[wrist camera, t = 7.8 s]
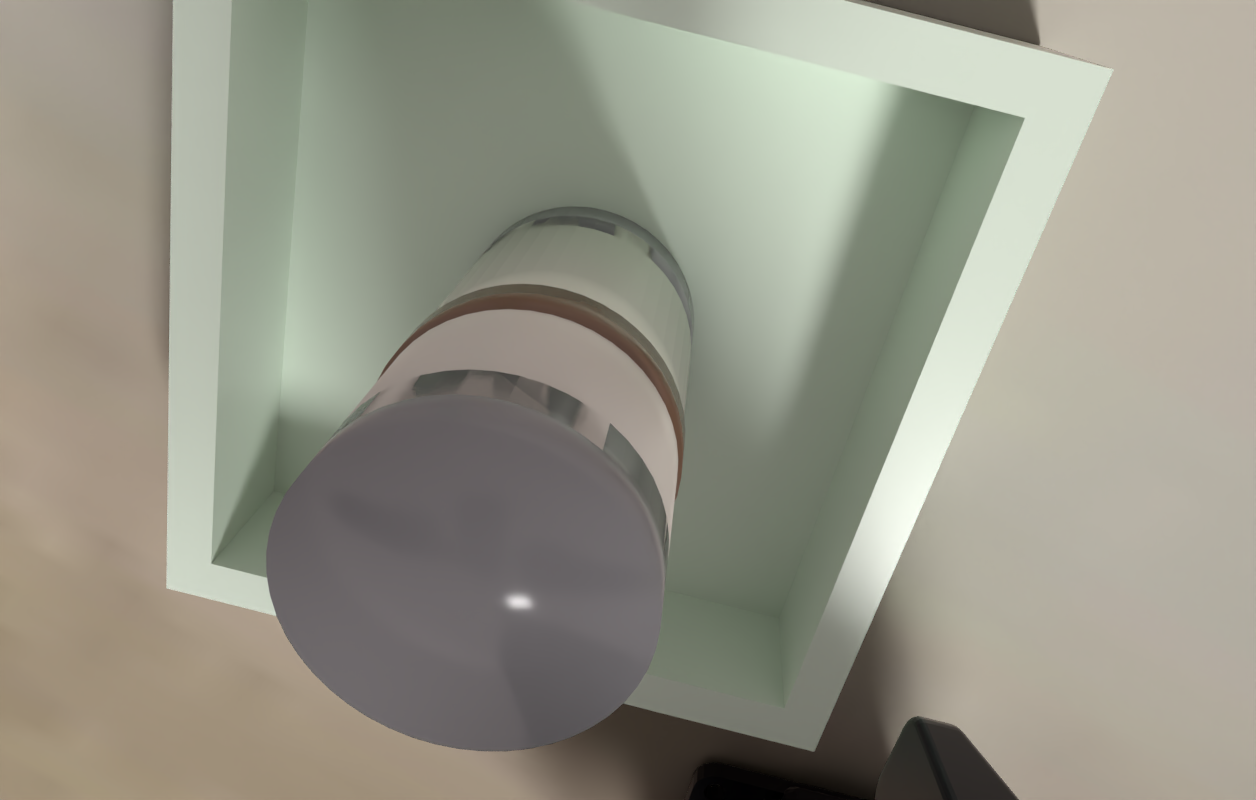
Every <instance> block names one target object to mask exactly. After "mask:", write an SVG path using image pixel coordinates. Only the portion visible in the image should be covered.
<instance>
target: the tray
mask: <svg viewBox="0 0 1256 800" xmlns="http://www.w3.org/2000/svg"><path fill="white" fill-rule="evenodd" d="M1113 70H1114V69H1111V68H1108V67H1105V66H1101V65H1098V64H1095V63H1092V62H1089V61H1086V60H1083V59H1080V58H1077V57H1073V56H1070V55H1067V54H1064V53H1061V52H1058V51H1055V50H1052V49H1049V48H1046V47H1042V46H1039V45H1035V44H1031V43H1027V42H1023V41H1019V40H1015V39H1011V38H1008V37H1004V36H1000V35H996V34H992V33H988V32H984V31H980V30H976V29H972V28H969V27H965V26H961V25H957V24H953V23H949V22H945V21H941V20H937V19H933V18H930V17H926V16H922V15H918V14H914V13H910V12H906V11H902V10H898V9H894V8H891V7H887V6H883V5H879V4H875V3H871V2H867V1H863V0H173V38H172V130H171V223H170V315H169V408H168V500H167V588H168V589H172V590H176V591H179V592H183V593H187V594H191V595H195V596H199V597H203V598H207V599H211V600H215V601H219V602H223V603H227V604H231V605H235V606H239V607H243V608H247V609H251V610H255V611H259V612H263V613H267V614H271V615H274V616H276V613H275V609H274V606H273V603H272V600H271V597H270V593H269V587H268V581H267V574H266V550H267V544H268V537H269V531H270V528H271V525H272V522H273V519H274V516H275V513H276V511H277V509H278V507H279V505H280V503H281V501H282V499H283V497H284V495H285V493H286V492H287V491H288V489H289V488H290V487H291V485H292V484H293V483H294V482H295V480H296V479H297V478H298V476H299V475H300V474H301V473H302V471H303V470H304V469H305V468H306V467H307V465H308V464H309V463H310V462H311V461H312V459H313V458H314V457H315V456H316V455H317V453H318V452H319V451H320V450H321V449H322V447H323V446H324V445H325V444H326V443H327V441H328V440H329V439H330V438H331V436H332V435H333V434H334V433H335V432H336V430H337V429H338V428H339V427H340V426H341V424H342V423H343V422H344V421H345V420H346V418H347V417H348V416H349V415H350V414H351V412H352V411H353V410H354V409H355V408H356V406H357V405H358V404H359V403H360V401H361V400H362V399H363V398H364V397H365V395H366V394H367V393H368V392H369V391H370V389H371V388H372V387H373V386H374V385H375V383H376V382H377V380H378V379H379V377H380V375H381V373H382V371H383V369H384V368H385V366H386V365H387V363H388V362H389V361H390V359H391V358H392V357H393V355H394V354H395V353H396V352H397V350H398V349H399V348H400V347H401V346H402V344H403V343H404V342H405V341H406V340H407V338H408V337H409V336H410V335H411V334H412V333H413V331H414V330H415V329H416V328H417V327H418V326H419V325H420V324H421V323H422V322H423V321H424V320H425V319H426V318H427V317H428V316H429V315H431V314H432V313H433V312H435V311H436V310H437V309H438V307H439V306H440V305H441V304H442V303H443V301H444V300H445V299H446V298H447V297H448V295H449V294H450V293H451V292H452V290H453V289H454V288H455V287H456V286H457V284H458V283H459V282H460V281H461V280H462V278H463V277H464V276H465V275H466V274H467V272H468V271H469V270H470V269H471V268H472V266H473V265H474V264H475V263H476V262H477V260H478V259H479V258H480V257H481V255H482V254H483V253H484V252H485V251H486V249H487V248H488V247H489V246H490V245H491V243H492V242H493V241H494V240H495V239H496V238H497V237H498V236H499V235H500V234H501V233H502V232H503V231H505V230H506V229H507V228H509V227H510V226H512V225H513V224H514V223H516V222H518V221H520V220H522V219H523V218H525V217H527V216H529V215H532V214H535V213H538V212H540V211H544V210H548V209H553V208H558V207H571V206H577V207H590V208H596V209H601V210H606V211H609V212H612V213H615V214H618V215H620V216H623V217H625V218H627V219H629V220H631V221H633V222H635V223H636V224H638V225H639V226H641V227H643V228H644V229H646V230H647V231H648V232H650V233H651V234H652V235H653V236H654V237H656V238H657V239H658V240H659V241H660V242H661V243H662V244H663V245H664V246H665V248H666V249H667V250H668V251H669V252H670V253H671V255H672V256H673V258H674V259H675V260H676V262H677V263H678V265H679V267H680V269H681V271H682V273H683V274H684V276H685V279H686V282H687V284H688V287H689V290H690V293H691V298H692V303H693V311H694V330H693V341H692V350H691V358H690V367H689V376H688V385H687V394H686V403H685V412H684V420H685V444H684V455H683V465H682V475H681V481H680V486H679V490H678V495H677V498H676V500H675V503H674V511H673V520H672V529H671V538H670V547H669V556H668V565H667V574H666V583H665V592H664V601H663V610H662V619H661V628H660V633H659V638H658V642H657V647H656V651H655V653H654V656H653V658H652V661H651V663H650V666H649V668H648V670H647V672H646V674H645V675H644V677H643V678H642V680H641V682H640V683H639V685H638V687H637V688H636V689H635V690H634V691H633V693H632V694H631V695H630V696H629V697H628V698H627V700H626V701H625V702H624V703H623V704H627V705H631V706H635V707H639V708H643V709H647V710H651V711H655V712H658V713H662V714H666V715H670V716H674V717H678V718H682V719H686V720H690V721H694V722H698V723H702V724H706V725H710V726H714V727H718V728H722V729H726V730H730V731H734V732H738V733H742V734H746V735H750V736H753V737H757V738H761V739H765V740H769V741H773V742H777V743H781V744H785V745H789V746H793V747H797V748H801V749H805V750H809V751H813V752H815V749H816V747H817V745H818V742H819V740H820V738H821V736H822V733H823V731H824V729H825V726H826V724H827V722H828V720H829V717H830V715H831V713H832V710H833V708H834V706H835V704H836V701H837V699H838V697H839V695H840V692H841V690H842V688H843V685H844V683H845V681H846V679H847V676H848V674H849V672H850V669H851V667H852V665H853V663H854V660H855V658H856V656H857V653H858V651H859V649H860V647H861V644H862V642H863V640H864V638H865V635H866V633H867V631H868V628H869V626H870V624H871V622H872V619H873V617H874V615H875V612H876V610H877V608H878V606H879V603H880V601H881V599H882V597H883V594H884V592H885V590H886V587H887V585H888V583H889V581H890V578H891V576H892V574H893V571H894V569H895V567H896V565H897V562H898V560H899V558H900V555H901V553H902V551H903V549H904V546H905V544H906V542H907V540H908V537H909V535H910V533H911V530H912V528H913V526H914V524H915V521H916V519H917V517H918V514H919V512H920V510H921V508H922V505H923V503H924V501H925V499H926V496H927V494H928V492H929V489H930V487H931V485H932V483H933V480H934V478H935V476H936V473H937V471H938V469H939V467H940V464H941V462H942V460H943V457H944V455H945V453H946V451H947V448H948V446H949V444H950V442H951V439H952V437H953V435H954V432H955V430H956V428H957V426H958V423H959V421H960V419H961V416H962V414H963V412H964V410H965V407H966V405H967V403H968V400H969V398H970V396H971V394H972V391H973V389H974V387H975V385H976V382H977V380H978V378H979V375H980V373H981V371H982V369H983V366H984V364H985V362H986V359H987V357H988V355H989V353H990V350H991V348H992V346H993V344H994V341H995V339H996V337H997V334H998V332H999V330H1000V328H1001V325H1002V323H1003V321H1004V318H1005V316H1006V314H1007V312H1008V309H1009V307H1010V305H1011V302H1012V300H1013V298H1014V296H1015V293H1016V291H1017V289H1018V287H1019V284H1020V282H1021V280H1022V277H1023V275H1024V273H1025V271H1026V268H1027V266H1028V264H1029V261H1030V259H1031V257H1032V255H1033V252H1034V250H1035V248H1036V245H1037V243H1038V241H1039V239H1040V236H1041V234H1042V232H1043V230H1044V227H1045V225H1046V223H1047V220H1048V218H1049V216H1050V214H1051V211H1052V209H1053V207H1054V204H1055V202H1056V200H1057V198H1058V195H1059V193H1060V191H1061V189H1062V186H1063V184H1064V182H1065V179H1066V177H1067V175H1068V173H1069V170H1070V168H1071V166H1072V163H1073V161H1074V159H1075V157H1076V154H1077V152H1078V150H1079V147H1080V145H1081V143H1082V141H1083V138H1084V136H1085V134H1086V132H1087V129H1088V127H1089V125H1090V122H1091V120H1092V118H1093V116H1094V113H1095V111H1096V109H1097V106H1098V104H1099V102H1100V100H1101V97H1102V95H1103V93H1104V90H1105V88H1106V86H1107V84H1108V81H1109V79H1110V77H1111V75H1112V72H1113Z"/></svg>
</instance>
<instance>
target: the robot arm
mask: <svg viewBox="0 0 1256 800" xmlns="http://www.w3.org/2000/svg"><path fill="white" fill-rule="evenodd" d="M711 784H714V785H720V786H719V787H712V786H710V785H711ZM684 800H865V799H861V798H857V797H853V796H849V795H845V794H841V793H837V792H833V791H829V790H825V789H821V788H817V787H813V786H809V785H805V784H801V783H797V782H793V781H789V780H785V779H782V778H778V777H774V776H770V775H766V774H762V773H758V772H754V771H750V770H746V769H742V768H738V767H734V766H730V765H726V764H722V763H714V762H712V763H707V764H703V765H702V766H700V767H698V768H697V770H696V771H695V772H694V774H693V777H692V780H691V783H690V785H689V788H688V791H687V794H686V796H685V799H684ZM875 800H1019V799H1018V798H1017V797H1016V796H1015V794H1014V793H1013V792H1012V791H1011V790H1010V788H1009V787H1008V786H1007V785H1006V784H1005V782H1004V781H1003V780H1002V779H1001V778H1000V776H999V775H998V774H997V773H996V771H995V770H994V769H993V768H992V767H991V765H990V764H989V763H988V762H987V761H986V759H985V758H984V757H983V756H982V755H981V753H980V752H979V751H978V750H977V749H976V747H975V746H974V745H973V744H972V743H971V741H970V740H969V739H968V738H967V737H966V735H965V734H964V733H963V732H962V731H961V730H960V729H959V728H958V727H956V726H954V725H952V724H949V723H945V722H941V721H937V720H932V719H928V718H924V717H920V716H917V717H913V718H911V719H910V720H909V721H908V722H907V723H906V725H905V726H904V728H903V730H902V732H901V734H900V736H899V738H898V740H897V742H896V744H895V746H894V748H893V750H892V752H891V754H890V756H889V758H888V760H887V762H886V764H885V766H884V768H883V771H882V773H881V775H880V777H879V780H878V784H877V788H876V794H875Z"/></svg>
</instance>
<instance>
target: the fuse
mask: <svg viewBox="0 0 1256 800" xmlns="http://www.w3.org/2000/svg"><path fill="white" fill-rule="evenodd" d="M693 330H694V311H693V303H692V298H691V293H690V290H689V287H688V284H687V282H686V279H685V276H684V274H683V273H682V271H681V269H680V267H679V265H678V263H677V262H676V260H675V259H674V258H673V256H672V255H671V253H670V252H669V251H668V250H667V249H666V248H665V246H664V245H663V244H662V243H661V242H660V241H659V240H658V239H657V238H656V237H654V236H653V235H652V234H651V233H650V232H648V231H647V230H646V229H644V228H643V227H641V226H639V225H638V224H636V223H635V222H633V221H631V220H629V219H627V218H625V217H623V216H620V215H618V214H615V213H612V212H609V211H606V210H601V209H596V208H590V207H577V206H571V207H558V208H553V209H548V210H544V211H540V212H538V213H535V214H532V215H529V216H527V217H525V218H523V219H522V220H520V221H518V222H516V223H514V224H513V225H512V226H510V227H509V228H507V229H506V230H505V231H503V232H502V233H501V234H500V235H499V236H498V237H497V238H496V239H495V240H494V241H493V242H492V243H491V245H490V246H489V247H488V248H487V249H486V251H485V252H484V253H483V254H482V255H481V257H480V258H479V259H478V260H477V262H476V263H475V264H474V265H473V266H472V268H471V269H470V270H469V271H468V272H467V274H466V275H465V276H464V277H463V278H462V280H461V281H460V282H459V283H458V284H457V286H456V287H455V288H454V289H453V290H452V292H451V293H450V294H449V295H448V297H447V298H446V299H445V300H444V301H443V303H442V304H441V305H440V306H439V307H438V309H437V310H436V311H435V312H433V313H432V314H431V315H429V316H428V317H427V318H426V319H425V320H424V321H423V322H422V323H421V324H420V325H419V326H418V327H417V328H416V329H415V330H414V331H413V333H412V334H411V335H410V336H409V337H408V338H407V340H406V341H405V342H404V343H403V344H402V346H401V347H400V348H399V349H398V350H397V352H396V353H395V354H394V355H393V357H392V358H391V359H390V361H389V362H388V363H387V365H386V366H385V368H384V369H383V371H382V373H381V375H380V377H379V379H378V380H377V382H376V383H375V385H374V386H373V387H372V388H371V389H370V391H369V392H368V393H367V394H366V395H365V397H364V398H363V399H362V400H361V401H360V403H359V404H358V405H357V406H356V408H355V409H354V410H353V411H352V412H351V414H350V415H349V416H348V417H347V418H346V420H345V421H344V422H343V423H342V424H341V426H340V427H339V428H338V429H337V430H336V432H335V433H334V434H333V435H332V436H331V438H330V439H329V440H328V441H327V443H326V444H325V445H324V446H323V447H322V449H321V450H320V451H319V452H318V453H317V455H316V456H315V457H314V458H313V459H312V461H311V462H310V463H309V464H308V465H307V467H306V468H305V469H304V470H303V471H302V473H301V474H300V475H299V476H298V478H297V479H296V480H295V482H294V483H293V484H292V485H291V487H290V488H289V489H288V491H287V492H286V493H285V495H284V497H283V499H282V501H281V503H280V505H279V507H278V509H277V511H276V513H275V516H274V519H273V522H272V525H271V528H270V531H269V537H268V544H267V550H266V574H267V581H268V587H269V593H270V597H271V600H272V603H273V606H274V609H275V613H276V616H277V618H278V620H279V622H280V624H281V626H282V628H283V630H284V633H285V635H286V636H287V638H288V640H289V641H290V643H291V644H292V646H293V648H294V649H295V651H296V652H297V654H298V655H299V656H300V658H301V659H302V660H303V661H304V663H305V664H306V665H307V666H308V668H309V669H310V670H311V671H312V672H313V673H314V674H315V675H316V676H317V677H318V678H319V679H320V680H321V681H322V682H323V683H324V684H325V685H326V686H327V687H328V688H329V689H330V690H331V691H332V692H334V693H335V694H336V695H337V696H339V697H340V698H341V699H342V700H344V701H345V702H346V703H347V704H349V705H350V706H352V707H353V708H355V709H356V710H358V711H359V712H361V713H363V714H364V715H366V716H367V717H369V718H371V719H373V720H375V721H377V722H379V723H380V724H382V725H384V726H386V727H388V728H390V729H393V730H395V731H398V732H400V733H403V734H405V735H408V736H410V737H413V738H416V739H419V740H423V741H426V742H429V743H433V744H437V745H442V746H447V747H452V748H457V749H465V750H475V751H512V750H522V749H530V748H535V747H539V746H544V745H549V744H552V743H555V742H558V741H561V740H564V739H567V738H570V737H572V736H575V735H577V734H579V733H581V732H583V731H585V730H587V729H589V728H591V727H593V726H594V725H596V724H597V723H599V722H600V721H602V720H603V719H605V718H606V717H608V716H609V715H610V714H612V713H613V712H614V711H615V710H616V709H617V708H618V707H620V706H621V705H622V704H623V703H624V702H625V701H626V700H627V698H628V697H629V696H630V695H631V694H632V693H633V691H634V690H635V689H636V688H637V687H638V685H639V683H640V682H641V680H642V678H643V677H644V675H645V674H646V672H647V670H648V668H649V666H650V663H651V661H652V658H653V656H654V653H655V651H656V647H657V642H658V638H659V633H660V628H661V619H662V610H663V601H664V592H665V583H666V574H667V565H668V556H669V547H670V538H671V529H672V520H673V511H674V503H675V500H676V498H677V495H678V490H679V486H680V481H681V475H682V465H683V455H684V444H685V420H684V412H685V403H686V394H687V385H688V376H689V367H690V358H691V350H692V341H693Z"/></svg>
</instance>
